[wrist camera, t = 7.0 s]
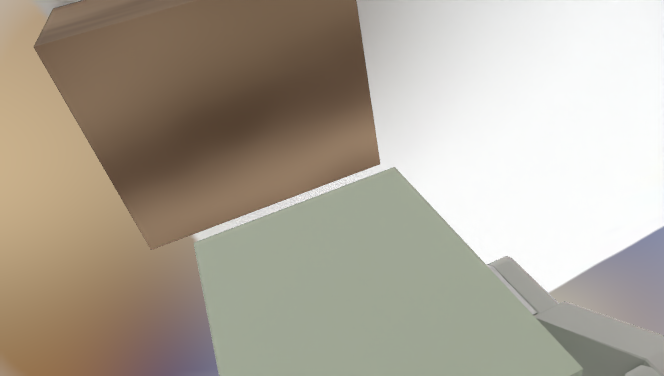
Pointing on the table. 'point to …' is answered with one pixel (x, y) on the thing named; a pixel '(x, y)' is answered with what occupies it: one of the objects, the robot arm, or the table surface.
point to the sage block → (365, 294)
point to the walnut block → (213, 102)
